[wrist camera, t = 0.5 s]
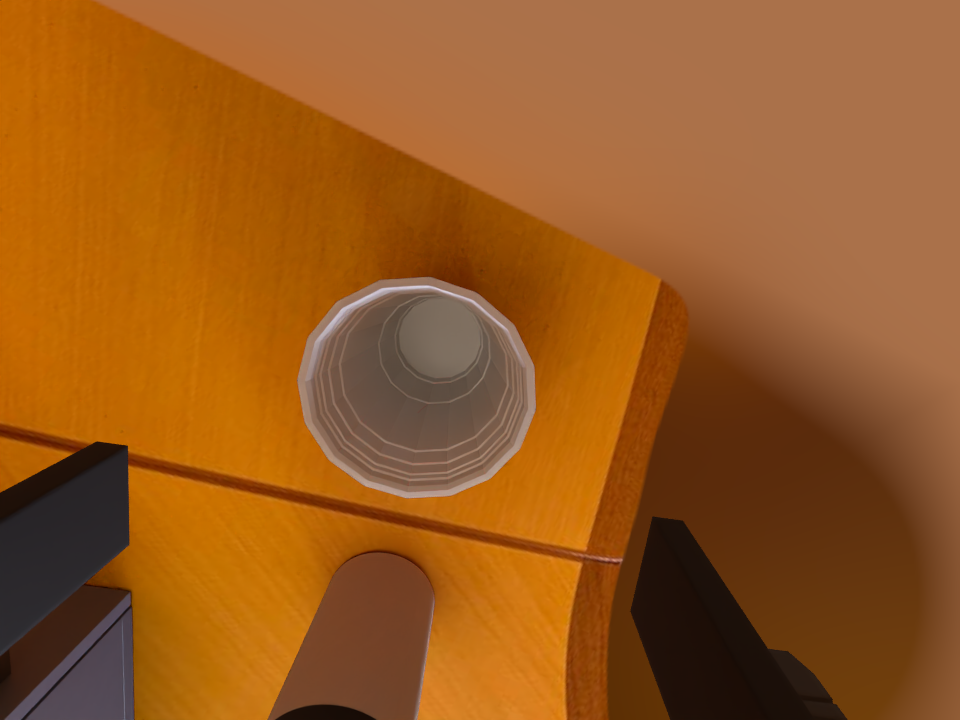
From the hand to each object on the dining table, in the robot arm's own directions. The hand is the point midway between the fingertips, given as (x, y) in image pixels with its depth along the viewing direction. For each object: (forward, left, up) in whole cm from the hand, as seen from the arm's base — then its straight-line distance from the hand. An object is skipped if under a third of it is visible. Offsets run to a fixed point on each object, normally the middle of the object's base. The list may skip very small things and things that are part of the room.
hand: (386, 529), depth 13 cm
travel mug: (+20, -3, -23) cm, 31 cm away
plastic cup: (0, -1, -23) cm, 23 cm away
